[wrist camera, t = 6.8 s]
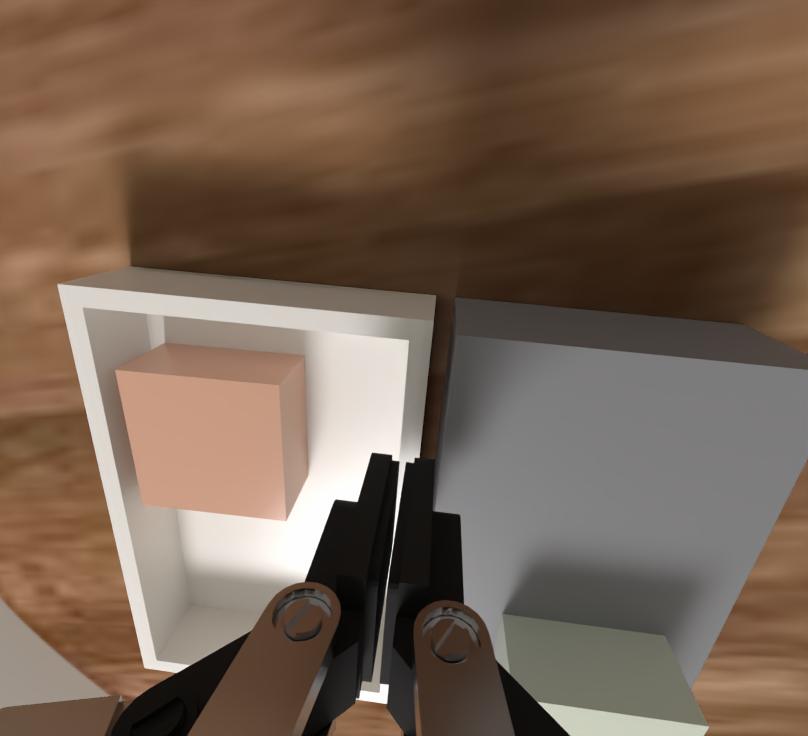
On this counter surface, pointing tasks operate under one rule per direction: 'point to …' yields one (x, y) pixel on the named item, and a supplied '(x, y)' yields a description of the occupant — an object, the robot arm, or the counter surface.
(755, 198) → the counter surface
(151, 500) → the tile
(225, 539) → the tray
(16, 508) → the counter surface
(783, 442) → the plate
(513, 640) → the tile
